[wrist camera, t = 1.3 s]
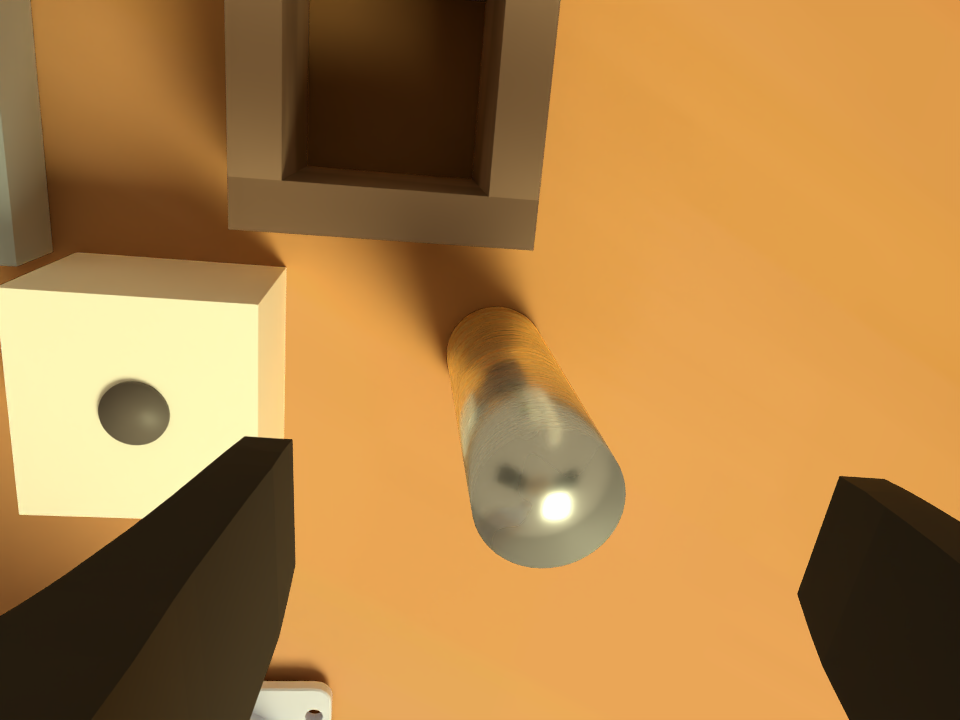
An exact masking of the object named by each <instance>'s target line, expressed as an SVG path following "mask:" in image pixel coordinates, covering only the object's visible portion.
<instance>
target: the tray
mask: <svg viewBox="0 0 960 720" xmlns="http://www.w3.org/2000/svg"><path fill="white" fill-rule="evenodd" d="M51 252H53V245H52V234H51V223H50V212H49V201H48V190H47V179H46V168H45V156H44V145H43V134H42V123H41V112H40V101H39V90H38V79H37V68H36V57H35V46H34V35H33V24H32V13H31V1H30V0H0V265H1V266H19V265H22V264H24V263H27V262H29V261H32V260H34V259H37V258H39V257H41V256H44V255H46V254H49V253H51Z"/></svg>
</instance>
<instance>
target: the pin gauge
mask: <svg viewBox="0 0 960 720" xmlns="http://www.w3.org/2000/svg"><path fill="white" fill-rule="evenodd" d="M447 364H448V370H449V376H450V382H451V388H452V394H453V400H454V406H455V412H456V418H457V424H458V430H459V436H460V443H461V449H462V455H463V461H464V467H465V473H466V479H467V485H468V491H469V497H470V503H471V509H472V515H473V519H474V523H475V526H476V528H477V530H478V533H479V534H480V536H481V537H482V539H483V541H484V542H485V543H486V544H487V545H488V546H489V548H491V549H492V550H493V551H494V552H495V553H496V554H498V555H499V556H501V557H502V558H504V559H506V560H508V561H510V562H512V563H515V564H518V565H521V566H526V567H531V568H553V567H559V566H563V565H567V564H570V563H573V562H576V561H578V560H580V559H582V558H584V557H586V556H588V555H589V554H591V553H592V552H594V551H595V550H596V549H598V548H599V547H600V546H601V545H602V544H603V543H604V542H605V541H606V540H607V539H608V538H609V537H610V535H611V534H612V532H613V531H614V530H615V528H616V526H617V524H618V522H619V520H620V518H621V515H622V513H623V509H624V504H625V495H626V493H625V483H624V478H623V474H622V472H621V469H620V467H619V465H618V463H617V461H616V460H615V458H614V456H613V455H612V453H611V451H610V450H609V448H608V446H607V445H606V443H605V441H604V440H603V438H602V436H601V435H600V433H599V431H598V430H597V428H596V426H595V425H594V423H593V421H592V420H591V418H590V416H589V415H588V413H587V411H586V410H585V408H584V406H583V405H582V403H581V401H580V400H579V398H578V396H577V395H576V393H575V391H574V390H573V388H572V386H571V385H570V383H569V381H568V380H567V378H566V376H565V375H564V373H563V371H562V370H561V368H560V366H559V365H558V363H557V361H556V360H555V358H554V356H553V355H552V353H551V351H550V350H549V348H548V346H547V345H546V343H545V341H544V340H543V338H542V336H541V335H540V333H539V331H538V330H537V328H536V327H535V325H534V324H533V323H532V322H531V321H530V320H529V319H528V318H527V317H526V316H524V315H523V314H521V313H520V312H518V311H515V310H513V309H510V308H505V307H488V308H484V309H480V310H478V311H475V312H473V313H471V314H470V315H468V316H467V317H465V318H464V319H463V320H462V321H461V322H460V323H459V324H458V325H457V326H456V328H455V329H454V331H453V332H452V334H451V336H450V339H449V342H448V346H447Z"/></svg>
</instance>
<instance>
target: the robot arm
mask: <svg viewBox="0 0 960 720" xmlns="http://www.w3.org/2000/svg"><path fill="white" fill-rule="evenodd" d="M294 569H295V528H294V485H293V442H292V439H279V438H264V437H250V436H244V437H243V438H241V439H240V440H239V441H238V442H236V443H235V444H234V445H233V446H231V447H230V448H229V449H228V450H226V451H225V452H224V453H223V454H221V455H220V456H219V457H218V458H217V459H215V460H214V461H213V462H212V463H211V464H209V465H208V466H207V467H206V468H205V469H203V470H202V471H201V472H200V473H198V474H197V475H196V476H195V477H194V478H192V479H191V480H190V481H189V482H188V483H186V484H185V485H184V486H183V487H181V488H180V489H179V490H178V491H177V492H175V493H174V494H173V495H172V496H170V497H169V498H168V499H167V500H165V501H164V502H163V503H162V504H160V505H159V506H158V507H157V508H155V509H154V510H153V511H151V512H150V513H149V514H148V515H146V516H145V517H144V518H143V519H141V520H140V521H139V522H137V523H136V524H135V525H134V526H132V527H131V528H130V529H128V530H127V531H126V532H124V533H123V534H122V535H120V536H119V537H117V538H116V539H115V540H113V541H112V542H110V543H109V544H108V545H106V546H105V547H103V548H102V549H101V550H99V551H98V552H96V553H95V554H94V555H92V556H91V557H89V558H88V559H87V560H85V561H84V562H82V563H81V564H80V565H78V566H77V567H75V568H74V569H73V570H71V571H70V572H68V573H67V574H66V575H64V576H63V577H61V578H60V579H58V580H57V581H55V582H54V583H52V584H51V585H49V586H48V587H46V588H45V589H43V590H42V591H40V592H38V593H37V594H35V595H34V596H32V597H31V598H29V599H27V600H26V601H24V602H23V603H21V604H20V605H18V606H16V607H15V608H13V609H11V610H10V611H8V612H6V613H5V614H3V615H1V616H0V720H332V691H331V689H330V687H329V686H328V685H327V684H325V683H323V682H318V681H264V678H265V676H266V673H267V670H268V667H269V664H270V661H271V659H272V656H273V653H274V650H275V647H276V644H277V641H278V638H279V635H280V631H281V626H282V622H283V618H284V614H285V609H286V605H287V601H288V596H289V591H290V587H291V582H292V578H293V573H294ZM797 594H798V598H799V601H800V604H801V607H802V610H803V613H804V616H805V619H806V622H807V625H808V628H809V631H810V634H811V637H812V639H813V642H814V645H815V647H816V650H817V653H818V655H819V658H820V661H821V664H822V666H823V668H824V670H825V672H826V674H827V676H828V678H829V680H830V682H831V685H832V686H833V688H834V690H835V692H836V694H837V696H838V698H839V700H840V702H841V704H842V706H843V708H844V710H845V712H846V714H847V716H848V718H849V720H960V521H958V520H956V519H955V518H953V517H951V516H950V515H948V514H946V513H945V512H943V511H941V510H940V509H938V508H936V507H935V506H933V505H931V504H930V503H928V502H926V501H925V500H923V499H921V498H919V497H918V496H916V495H914V494H912V493H910V492H909V491H907V490H905V489H903V488H901V487H899V486H897V485H895V484H893V483H891V482H889V481H887V480H885V479H875V478H860V477H845V476H839V479H838V482H837V485H836V487H835V490H834V493H833V496H832V499H831V501H830V504H829V507H828V510H827V513H826V515H825V518H824V521H823V524H822V527H821V529H820V532H819V535H818V538H817V540H816V543H815V546H814V549H813V552H812V554H811V557H810V560H809V563H808V566H807V568H806V571H805V574H804V577H803V580H802V582H801V585H800V588H799V591H798V593H797ZM310 710H319V711H320V713H317V714H314V713H310V712H309V711H310Z"/></svg>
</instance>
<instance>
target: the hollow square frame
mask: <svg viewBox="0 0 960 720" xmlns="http://www.w3.org/2000/svg"><path fill="white" fill-rule="evenodd" d="M470 1H479V2H486V8H485V20H484V33H483V45H482V58H481V70H480V83H479V95H478V108H477V120H476V133H475V145H474V158H473V170H472V179H464V178H452V177H439V176H427V175H414V174H402V173H389V172H377V171H364V170H352V169H339V168H327V167H314V166H307V139H308V68H309V0H224V15H225V72H226V128H227V184H228V229H231V230H245V231H260V232H274V233H289V234H303V235H317V236H332V237H346V238H361V239H375V240H389V241H404V242H418V243H432V244H447V245H461V246H476V247H490V248H504V249H519V250H534V240H535V231H536V222H537V213H538V203H539V194H540V185H541V176H542V166H543V157H544V148H545V138H546V129H547V120H548V111H549V101H550V92H551V83H552V74H553V64H554V55H555V46H556V36H557V27H558V18H559V9H560V0H470Z"/></svg>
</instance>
